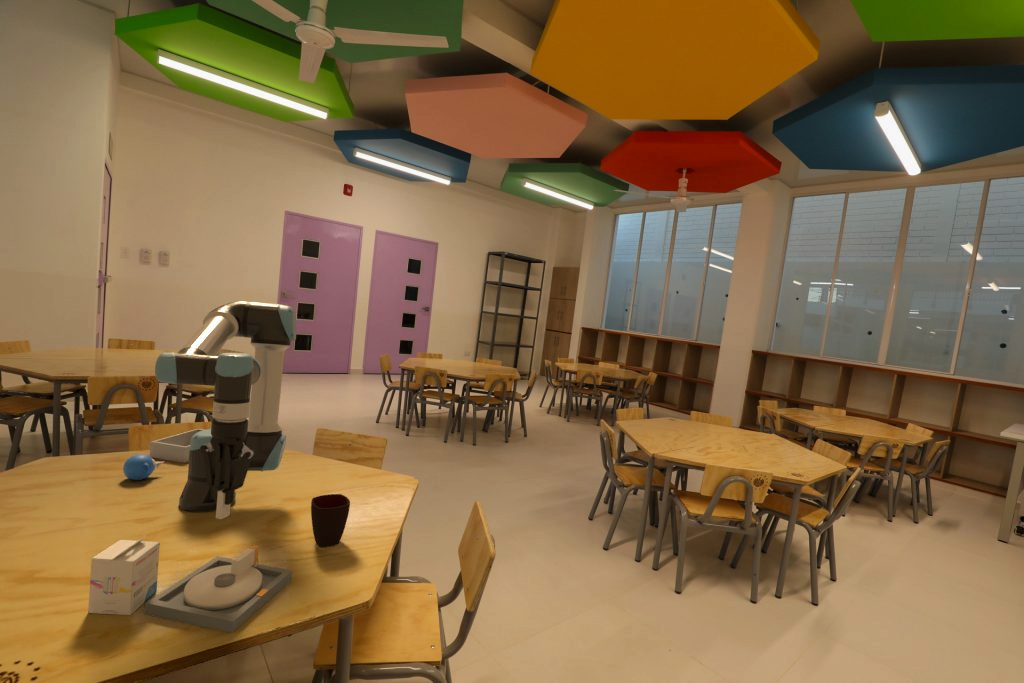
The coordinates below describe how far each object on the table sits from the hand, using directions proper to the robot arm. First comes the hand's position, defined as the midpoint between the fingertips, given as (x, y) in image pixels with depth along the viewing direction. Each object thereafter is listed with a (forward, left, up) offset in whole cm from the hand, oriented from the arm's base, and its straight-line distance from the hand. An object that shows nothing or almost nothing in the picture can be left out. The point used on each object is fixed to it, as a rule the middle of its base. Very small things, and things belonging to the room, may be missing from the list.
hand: (222, 516), depth 115 cm
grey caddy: (-71, +71, -14) cm, 102 cm away
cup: (+14, +24, -15) cm, 32 cm away
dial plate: (+7, -7, -14) cm, 17 cm away
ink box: (-10, -15, -15) cm, 23 cm away
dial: (+7, -5, -13) cm, 16 cm away
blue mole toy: (-63, +42, -15) cm, 77 cm away
